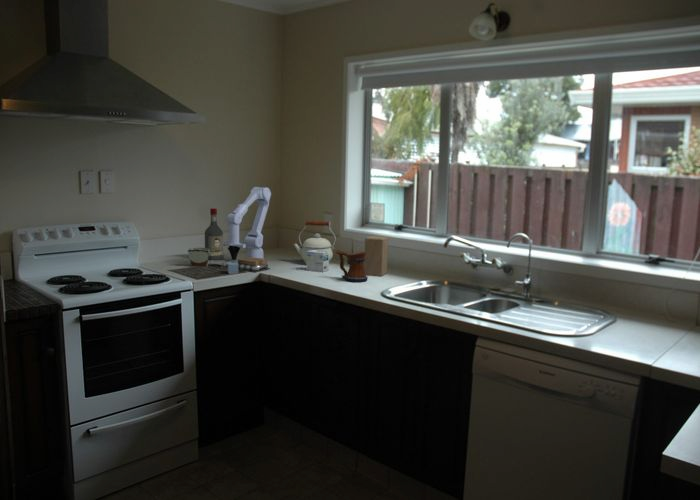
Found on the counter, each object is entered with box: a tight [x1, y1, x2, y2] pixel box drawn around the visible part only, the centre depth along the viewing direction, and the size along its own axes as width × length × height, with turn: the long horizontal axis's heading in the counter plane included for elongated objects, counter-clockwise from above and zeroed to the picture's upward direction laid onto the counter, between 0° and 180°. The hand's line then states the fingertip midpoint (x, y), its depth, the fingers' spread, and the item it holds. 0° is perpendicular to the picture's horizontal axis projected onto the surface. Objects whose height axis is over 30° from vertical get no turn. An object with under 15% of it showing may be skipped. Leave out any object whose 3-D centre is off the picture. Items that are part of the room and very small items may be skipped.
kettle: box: [293, 220, 337, 265], centre depth 342 cm, size 25×18×25 cm
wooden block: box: [364, 235, 389, 277], centre depth 314 cm, size 10×10×20 cm
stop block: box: [227, 263, 239, 275], centre depth 310 cm, size 5×5×6 cm
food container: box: [187, 247, 210, 268], centre depth 326 cm, size 12×6×10 cm, turn 84°
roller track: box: [219, 259, 271, 274], centre depth 323 cm, size 13×24×3 cm, turn 61°
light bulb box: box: [306, 250, 330, 273], centre depth 322 cm, size 11×7×11 cm, turn 65°
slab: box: [237, 256, 268, 266], centre depth 321 cm, size 10×12×2 cm
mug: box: [336, 249, 369, 283], centre depth 299 cm, size 18×12×15 cm, turn 57°
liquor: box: [204, 207, 224, 261], centre depth 347 cm, size 9×9×30 cm
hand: (234, 259), depth 326 cm, fingers closed
